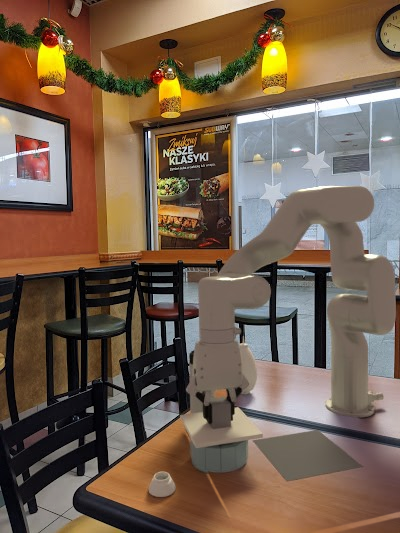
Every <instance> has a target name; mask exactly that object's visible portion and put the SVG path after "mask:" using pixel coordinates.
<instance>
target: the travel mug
mask: <svg viewBox="0 0 400 533" xmlns="http://www.w3.org/2000/svg"><path fill="white" fill-rule="evenodd" d="M188 355H189V356H188V357H189V360H188V362H189V363H188V364H189V365H188V366H189V368H188V369H189V382H190V381H191V379H192V378H193V358H194V350H191V352H189V353H188ZM195 389H196V390H198V387H197V386H196V387H195ZM198 391H200V390H198ZM200 392H202V391H200ZM210 398H216V390H214V391H211V396H210ZM189 400H190V401H189V404H190V414H192V413H199V412H203V403H202V402H201V401H200V400H199V399H198V398H197V397H195V396H192V395H190V394H189Z"/></svg>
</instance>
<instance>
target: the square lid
mask: <svg viewBox="0 0 400 533" xmlns="http://www.w3.org/2000/svg"><path fill="white" fill-rule="evenodd" d="M226 398H227V397H226V396H218V397H215V398H210V404H211V406H212V424H209V423H208V422H207V420H206V419H204V417H203V412H199V413H192V414H191V413H186V414H180V415H179V419H180V421H181V423H182V424H183V427H184V428H185V429H184V430H186V432H187V434H188V436H189V439H190V438H191V440H192V442H193V444H194V446H195V448H201V447H207V446H213V445H219V444H226V443H232V442H238V441H245V440H248V441H249V440H258V439H264V434H263V432H262V431H261V430H260V429H259V428H258V427H257V426H256V425H255V424H254V423H253V422H252V420H251V419H250V418H249V417H248V416H247V415H246V414H245V413H244V412H243V410H242V409H241V408H240V407H238V406H237V407H235V414H234V415H233V421H231V403H230V402H229V401H228V400H227V399H226Z"/></svg>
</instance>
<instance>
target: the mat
mask: <svg viewBox="0 0 400 533" xmlns="http://www.w3.org/2000/svg"><path fill="white" fill-rule="evenodd" d="M252 442H253V443H254V444H255V446H257V448H258V449H259V450H260V452H261V453H262V454H263V455H264V456H265V457H266V459H267V460H268V461H269V462H270V464H271V465H273V467H274V468H275V469H276V471H277V472H278V473H279V474H280V475H281V477H282V478H283V479H284V480H285V481H286V482H290V481H295V480H300V479H306V478H312V477H316V476H321V475H327V474H333V473H338V472H343V471H348V470H353V469H359V468H363V467H364V466H363V465H362V464H361V463H359V462H358V461H357V460H356V459H354V458H353V457H352V456H351V455H349V453H347V452H346V451H345V450H344V449H342V448H341V447H340V446H338V445H337V444H336V443H335V442H334V441H332V440H331V439H330V438H329V437H327V436H326V435H325V434H324V433H323V432H321V431H320V429H319V430H318V429H315V430H309V431H302V432H297V433H290V434H283V435H278V436H272V437H266V438H264V437H263V438H257V439H252Z"/></svg>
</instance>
